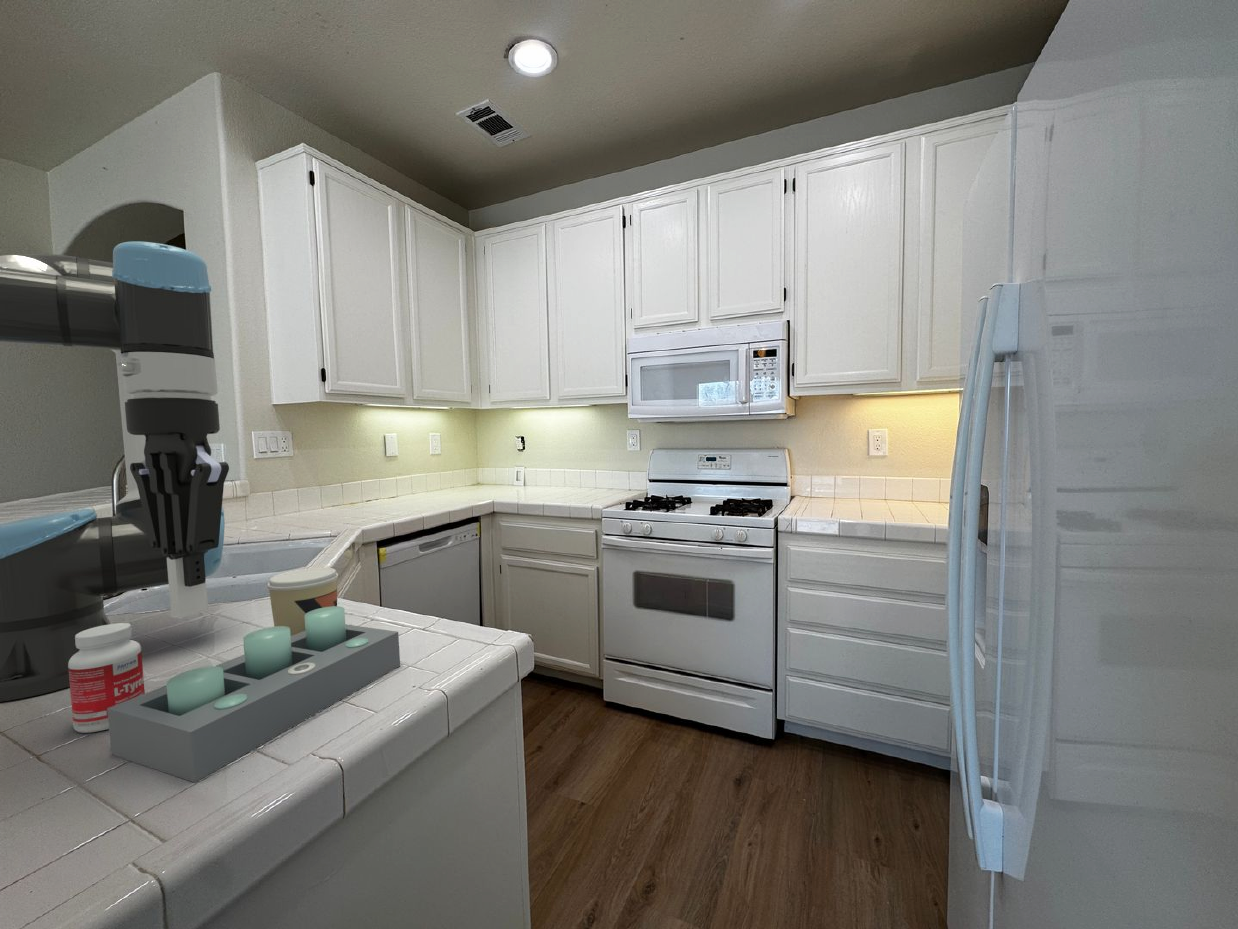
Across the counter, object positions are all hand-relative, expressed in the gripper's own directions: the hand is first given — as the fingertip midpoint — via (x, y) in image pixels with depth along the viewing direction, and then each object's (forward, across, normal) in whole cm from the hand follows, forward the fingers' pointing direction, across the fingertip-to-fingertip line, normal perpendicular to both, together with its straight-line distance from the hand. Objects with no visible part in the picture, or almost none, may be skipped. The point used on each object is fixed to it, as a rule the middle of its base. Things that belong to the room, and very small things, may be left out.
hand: (190, 613), depth 56 cm
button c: (+10, +1, +16) cm, 19 cm away
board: (+14, +2, +8) cm, 16 cm away
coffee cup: (+15, -10, +21) cm, 27 cm away
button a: (+12, +1, 0) cm, 12 cm away
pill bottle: (+15, -14, -1) cm, 20 cm away
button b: (+10, +1, +8) cm, 13 cm away
